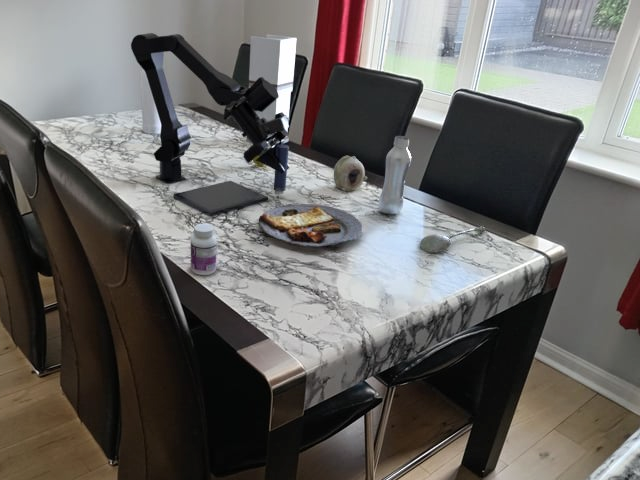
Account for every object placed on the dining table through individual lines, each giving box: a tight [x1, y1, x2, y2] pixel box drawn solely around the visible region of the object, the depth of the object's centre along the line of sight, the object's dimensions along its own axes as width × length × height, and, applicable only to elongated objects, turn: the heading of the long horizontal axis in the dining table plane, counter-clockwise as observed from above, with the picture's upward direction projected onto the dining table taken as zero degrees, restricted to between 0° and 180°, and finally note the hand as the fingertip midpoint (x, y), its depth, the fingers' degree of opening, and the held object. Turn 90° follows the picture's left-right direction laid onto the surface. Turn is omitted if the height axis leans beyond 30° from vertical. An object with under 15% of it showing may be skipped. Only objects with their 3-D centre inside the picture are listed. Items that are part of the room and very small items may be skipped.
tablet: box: [173, 180, 269, 217], centre depth 156 cm, size 16×20×1 cm
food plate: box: [257, 202, 363, 248], centre depth 139 cm, size 25×23×4 cm
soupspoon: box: [419, 225, 486, 254], centre depth 139 cm, size 22×3×7 cm
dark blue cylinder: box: [273, 143, 290, 196], centre depth 154 cm, size 3×3×13 cm
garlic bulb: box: [333, 155, 368, 192], centre depth 168 cm, size 9×8×10 cm
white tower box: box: [245, 34, 298, 144], centre depth 201 cm, size 11×11×35 cm
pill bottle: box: [190, 223, 218, 276], centre depth 117 cm, size 5×5×10 cm
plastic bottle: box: [377, 135, 412, 215], centre depth 149 cm, size 6×7×20 cm
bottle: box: [140, 68, 161, 135], centre depth 205 cm, size 8×8×30 cm
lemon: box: [252, 155, 266, 168], centre depth 180 cm, size 6×6×8 cm
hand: (285, 170), depth 154 cm, fingers closed on dark blue cylinder, 3 cm apart
